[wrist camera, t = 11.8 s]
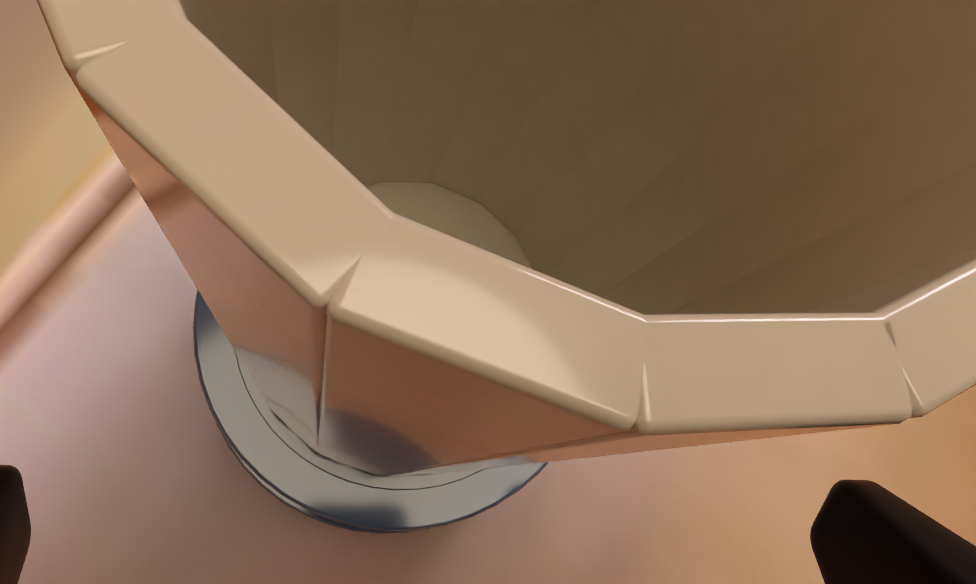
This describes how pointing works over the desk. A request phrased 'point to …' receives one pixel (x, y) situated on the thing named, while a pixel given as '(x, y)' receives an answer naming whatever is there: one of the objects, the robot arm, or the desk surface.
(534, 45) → the cup
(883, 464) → the desk surface
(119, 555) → the desk surface
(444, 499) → the round ridged metallic base
